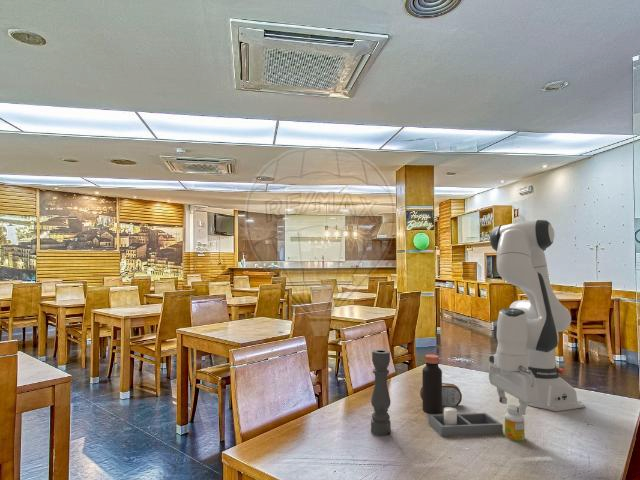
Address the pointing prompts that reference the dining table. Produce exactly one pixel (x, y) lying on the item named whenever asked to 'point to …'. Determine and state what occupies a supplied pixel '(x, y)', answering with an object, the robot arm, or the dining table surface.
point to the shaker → (450, 416)
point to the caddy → (466, 424)
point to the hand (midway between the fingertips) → (511, 408)
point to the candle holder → (380, 394)
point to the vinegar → (432, 385)
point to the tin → (448, 395)
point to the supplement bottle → (514, 424)
